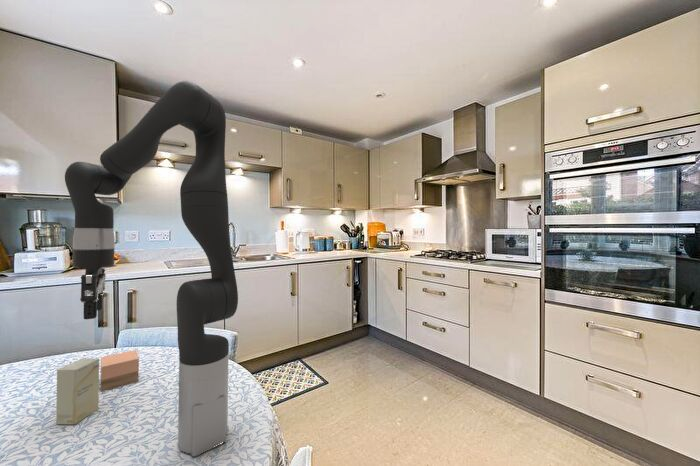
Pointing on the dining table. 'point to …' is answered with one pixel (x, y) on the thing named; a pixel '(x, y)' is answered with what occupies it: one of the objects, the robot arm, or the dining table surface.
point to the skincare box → (77, 391)
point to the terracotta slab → (119, 364)
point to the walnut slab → (119, 381)
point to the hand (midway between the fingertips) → (93, 314)
